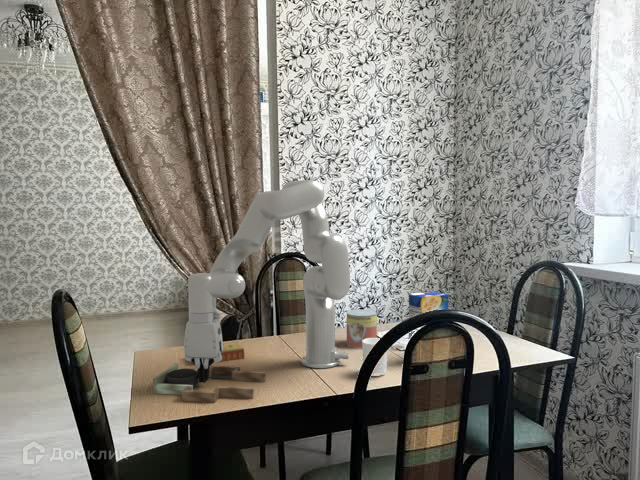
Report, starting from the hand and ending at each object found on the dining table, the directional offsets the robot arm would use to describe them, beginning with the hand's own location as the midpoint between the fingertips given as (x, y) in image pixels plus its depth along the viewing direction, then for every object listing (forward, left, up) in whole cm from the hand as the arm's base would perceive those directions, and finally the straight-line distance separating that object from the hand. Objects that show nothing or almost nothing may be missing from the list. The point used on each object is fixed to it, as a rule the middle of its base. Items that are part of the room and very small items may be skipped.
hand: (203, 381), depth 142 cm
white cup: (-48, -18, -2) cm, 51 cm away
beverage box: (-65, -34, -2) cm, 73 cm away
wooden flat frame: (-2, 0, -2) cm, 3 cm away
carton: (+5, -26, -2) cm, 27 cm away
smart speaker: (+6, 0, -2) cm, 7 cm away
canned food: (-42, -50, -2) cm, 65 cm away
